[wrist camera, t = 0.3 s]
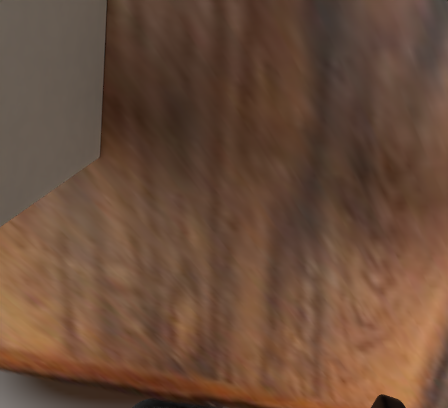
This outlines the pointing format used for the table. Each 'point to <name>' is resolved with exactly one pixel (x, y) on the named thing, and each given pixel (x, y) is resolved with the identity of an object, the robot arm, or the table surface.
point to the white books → (48, 95)
